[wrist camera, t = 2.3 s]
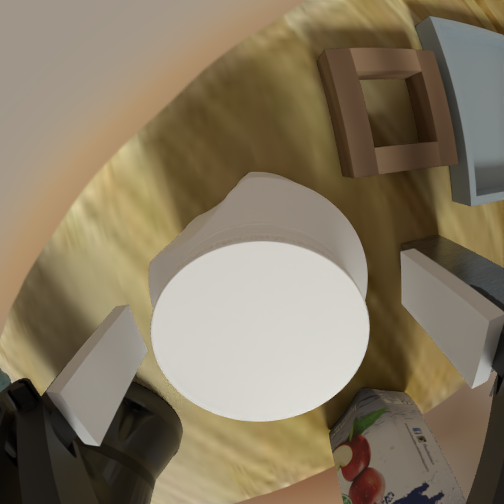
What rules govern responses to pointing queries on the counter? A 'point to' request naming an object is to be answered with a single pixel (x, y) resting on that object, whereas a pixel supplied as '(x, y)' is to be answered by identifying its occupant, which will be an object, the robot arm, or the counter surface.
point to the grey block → (462, 264)
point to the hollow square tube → (356, 118)
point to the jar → (261, 302)
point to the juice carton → (390, 453)
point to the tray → (471, 104)
